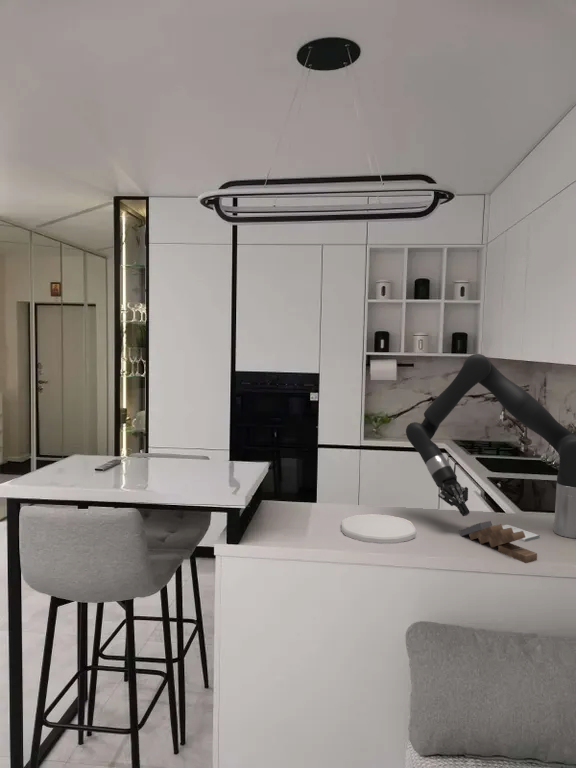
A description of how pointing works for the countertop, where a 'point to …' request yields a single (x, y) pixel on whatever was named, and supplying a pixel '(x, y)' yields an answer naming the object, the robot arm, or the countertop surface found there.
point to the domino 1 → (475, 528)
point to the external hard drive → (528, 535)
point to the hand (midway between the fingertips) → (466, 514)
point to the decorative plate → (378, 528)
